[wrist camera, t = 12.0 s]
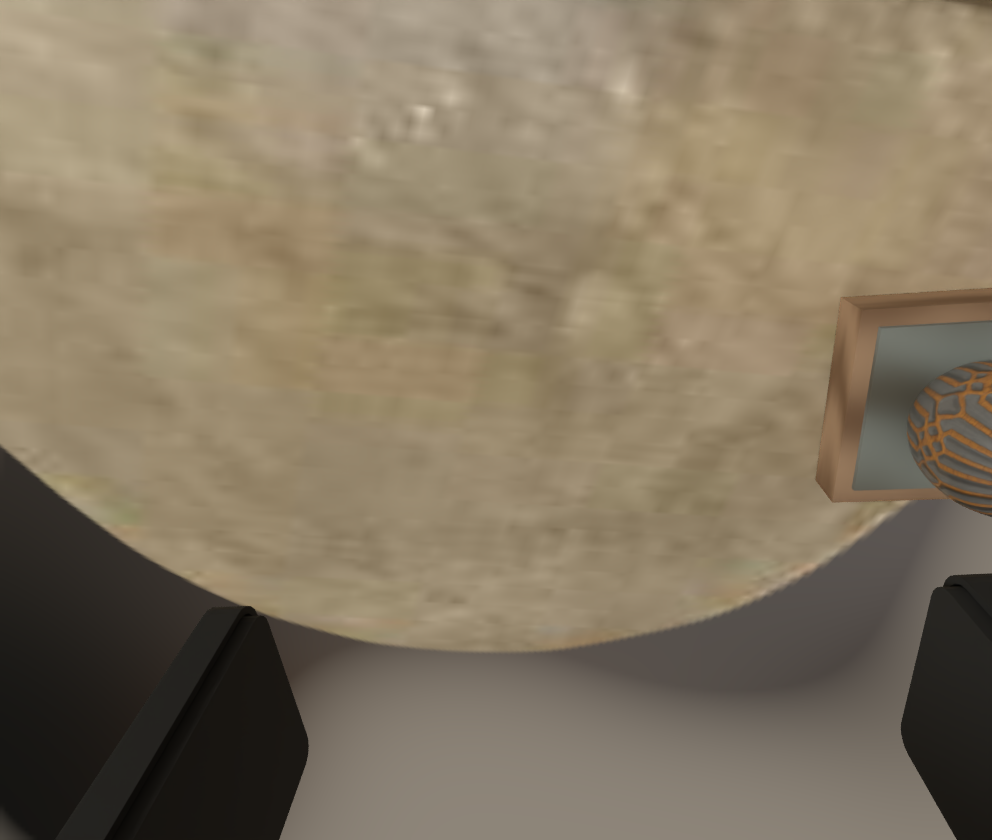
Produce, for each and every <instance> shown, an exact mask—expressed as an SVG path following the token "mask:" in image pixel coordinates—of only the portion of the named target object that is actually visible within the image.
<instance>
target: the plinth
mask: <svg viewBox="0 0 992 840" xmlns="http://www.w3.org/2000/svg"><path fill="white" fill-rule="evenodd" d="M988 360H992V288H985V289H969V290H953V291H937V292H921V293H905V294H889V295H873V296H857V297H841V301H840V308H839V315H838V322H837V329H836V337H835V344H834V351H833V358H832V365H831V372H830V380H829V387H828V394H827V401H826V408H825V416H824V423H823V430H822V437H821V444H820V451H819V459H818V466H817V473H816V481H817V483H818V484H819V485H820V487H821V488H822V489H823V491H824V492H825V493H826V495H827V496H828V497H829V498H830V500H831V501H832V502H862V501H894V500H924V499H950V498H948V497H947V496H945V495H944V494H943V493H942V492H940V491H939V490H938V489H937V488H936V487H935V486H934V485H933V484H932V483H931V482H930V481H929V480H928V479H927V478H926V477H925V475H924V474H923V473H922V472H921V470H920V469H919V468H918V466H917V464H916V462H915V460H914V458H913V456H912V454H911V451H910V448H909V444H908V439H907V421H908V416H909V413H910V410H911V408H912V406H913V404H914V402H915V400H916V399H917V397H918V396H919V394H920V393H921V392H922V391H923V389H924V388H925V387H926V386H927V385H928V384H930V383H931V382H932V381H933V380H934V379H936V378H937V377H939V376H940V375H942V374H944V373H946V372H948V371H949V370H952V369H954V368H956V367H959V366H961V365H964V364H968V363H973V362H979V361H988Z"/></svg>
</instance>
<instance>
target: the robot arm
mask: <svg viewBox="0 0 992 840" xmlns="http://www.w3.org/2000/svg"><path fill="white" fill-rule="evenodd" d="M901 735H902V739H903V743H904V746H905V748H906V751H907V753H908V755H909V757H910V758H911V760H912V762H913V764H914V765H915V767H916V769H917V771H918V772H919V774H920V776H921V778H922V779H923V781H924V783H925V785H926V786H927V788H928V790H929V792H930V794H931V795H932V797H933V799H934V801H935V802H936V804H937V806H938V808H939V809H940V811H941V813H942V814H943V816H944V818H945V820H946V821H947V823H948V825H949V827H950V829H951V830H952V832H953V834H954V836H955V837H956V839H957V840H992V574H971V575H953V576H950V577H948V578H947V579H946V581H945V583H944V585H943V587H937V588H936V589H935V590H934V591H933V593H932V596H931V600H930V604H929V608H928V612H927V617H926V621H925V625H924V629H923V634H922V638H921V642H920V647H919V650H918V655H917V659H916V663H915V667H914V671H913V676H912V680H911V684H910V688H909V693H908V697H907V701H906V705H905V709H904V714H903V718H902V722H901ZM308 747H309V746H308V737H307V734H306V731H305V728H304V725H303V722H302V719H301V716H300V713H299V710H298V708H297V705H296V702H295V699H294V696H293V693H292V690H291V687H290V684H289V682H288V679H287V676H286V673H285V670H284V667H283V664H282V661H281V658H280V655H279V652H278V650H277V647H276V644H275V641H274V638H273V635H272V632H271V629H270V626H269V623H268V621H267V619H266V618H265V617H264V616H258V615H257V613H256V611H255V609H254V608H252V607H251V606H237V607H214V608H211V609H209V610H208V611H207V612H206V613H205V614H204V615H203V617H202V618H201V620H200V621H199V623H198V624H197V626H196V627H195V629H194V630H193V632H192V633H191V635H190V637H189V638H188V640H187V641H186V643H185V644H184V646H183V647H182V649H181V650H180V652H179V653H178V655H177V656H176V658H175V659H174V661H173V662H172V664H171V665H170V667H169V668H168V670H167V671H166V673H165V674H164V676H163V677H162V679H161V680H160V682H159V683H158V685H157V686H156V688H155V689H154V691H153V693H152V694H151V695H150V697H149V698H148V700H147V702H146V703H145V705H144V706H143V708H142V709H141V711H140V712H139V714H138V715H137V717H136V718H135V720H134V721H133V723H132V724H131V726H130V727H129V729H128V730H127V732H126V733H125V735H124V737H123V738H122V739H121V741H120V742H119V744H118V745H117V747H116V748H115V750H114V752H113V753H112V754H111V756H110V757H109V759H108V760H107V762H106V763H105V765H104V767H103V768H102V769H101V771H100V773H99V774H98V776H97V777H96V779H95V780H94V782H93V783H92V785H91V786H90V788H89V789H88V791H87V792H86V794H85V795H84V797H83V798H82V800H81V802H80V803H79V804H78V806H77V807H76V809H75V810H74V812H73V813H72V815H71V816H70V818H69V819H68V821H67V822H66V824H65V825H64V827H63V829H62V830H61V831H60V833H59V834H58V836H57V838H56V839H55V840H279V838H280V835H281V832H282V830H283V827H284V824H285V821H286V819H287V816H288V813H289V810H290V807H291V804H292V802H293V799H294V796H295V793H296V790H297V788H298V785H299V782H300V779H301V776H302V774H303V770H304V768H305V765H306V761H307V757H308Z"/></svg>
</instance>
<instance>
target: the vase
mask: <svg viewBox="0 0 992 840" xmlns="http://www.w3.org/2000/svg"><path fill="white" fill-rule="evenodd" d="M907 439H908V444H909V448H910V451H911V454H912V456H913V458H914V460H915V462H916V464H917V466H918V468H919V469H920V470H921V472H922V473H923V474H924V475H925V477H926V478H927V479H928V480H929V481H930V482H931V483H932V484H933V485H934V486H935V487H936V488H937V489H938V490H939V491H940V492H942V493H943V494H944V495H945V496H947V497H948V498H950V499H952V500H953V501H955V502H956V503H958V504H960V505H962V506H964V507H966V508H968V509H971V510H973V511H975V512H978V513H981V514H984V515H987V516H990V517H992V360H988V361H979V362H973V363H968V364H964V365H961V366H959V367H956V368H954V369H952V370H949V371H948V372H946V373H944V374H942V375H940V376H939V377H937V378H936V379H934V380H933V381H932V382H931V383H930V384H928V385H927V386H926V387H925V388H924V389H923V391H922V392H921V393H920V394H919V396H918V397H917V399H916V400H915V402H914V404H913V406H912V408H911V410H910V413H909V416H908V421H907Z"/></svg>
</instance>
